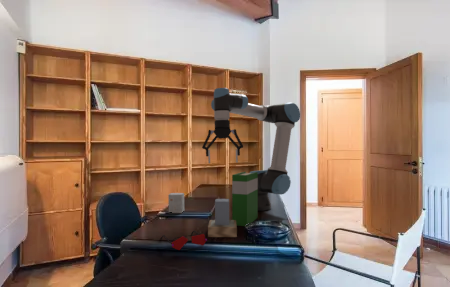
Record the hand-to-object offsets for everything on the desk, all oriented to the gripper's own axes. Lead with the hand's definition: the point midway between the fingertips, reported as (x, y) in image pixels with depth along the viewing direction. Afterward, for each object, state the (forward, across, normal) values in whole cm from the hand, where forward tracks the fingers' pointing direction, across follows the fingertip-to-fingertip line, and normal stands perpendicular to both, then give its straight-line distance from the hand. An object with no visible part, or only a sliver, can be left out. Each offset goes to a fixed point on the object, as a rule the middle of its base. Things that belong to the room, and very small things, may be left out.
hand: (223, 162), depth 146 cm
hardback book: (+30, -10, -1) cm, 32 cm away
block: (+25, +1, +18) cm, 31 cm away
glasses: (+29, +17, +30) cm, 45 cm away
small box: (+29, +27, -22) cm, 46 cm away
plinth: (+29, +1, +18) cm, 34 cm away
